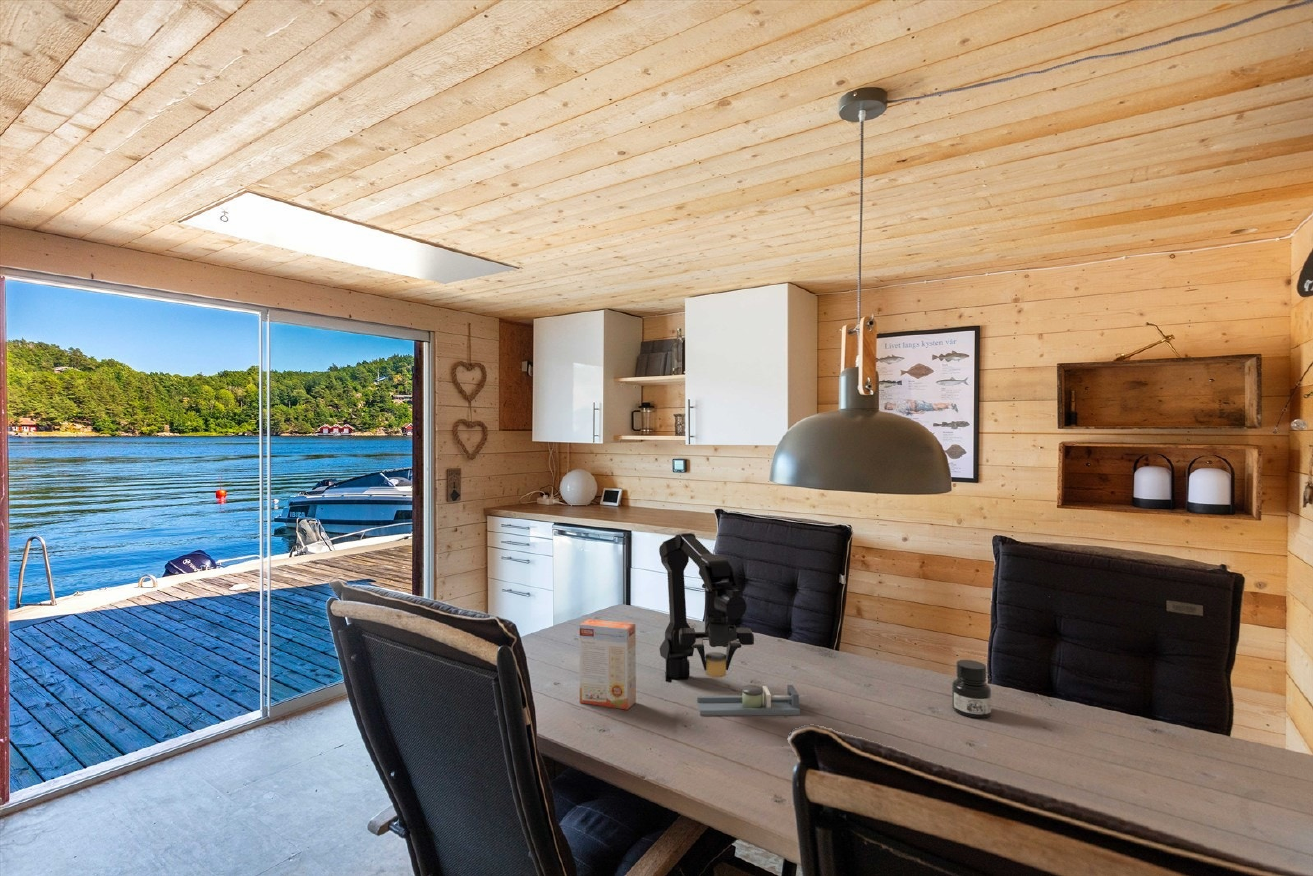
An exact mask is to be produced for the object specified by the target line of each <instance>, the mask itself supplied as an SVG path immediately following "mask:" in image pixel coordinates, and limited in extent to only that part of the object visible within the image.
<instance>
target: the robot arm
mask: <svg viewBox="0 0 1313 876" xmlns="http://www.w3.org/2000/svg"><path fill="white" fill-rule="evenodd" d="M658 551H659V552H658V553H659V556H660V560H661V561H660V562H661V564H662V565H663V567H664V569H665V570H666V572H667V573H666V574H667V592H668V607H669V610H668V611H669V623H668V625H667V627H666V629H665V632H664V640H663V641H662V643H661V645H660V647H659V655H660V657H662V658H663V659H664V660H665V671H664V675H665V676H664V677H665V681H666V682H672V681H673V680H674V681H675V680H676V681H681V680H682V681H686V680H689V677H690V673H691V672H690V668H691V667H690V660H689V659H688V657H693V656H694V651H695V649H696V650H697V652H698V654H699V656H700V657H699V658H700V660H701V662H702V666H703V669H704V671H706V658H705V655H706V654H705V653H706V652H705V644H704V641H708V644H709V646H710V647H711V648H716V647H723V648H726V650H725V651H726V653H725V655H726V656H727V659H726V671H728V670H729V668H730V665H731V662H732V659H733V657H734V654H735V652H736V651H737V650H738V649H740V648H742V646H753V645H755V635H754V633H753V631H752V630H751V628H750V627H737V625H733V624H732V625H729V622H728V618H730V619H732V620H740V619H741V618H742V617H743V616H744V615H745V613H746V611H747V607H748V606H747V603H746V600H745V599H744V597H742V596H741V595H740V590H739V589H738V588H739V585H738V579H737V577H736V574H735V573H734V572H735V571H734V570H733V567H732V565H731V563H730V562H729V560H728V559H726V558H725V557H723V556H720V555H719V554H718V555H717V554H713V553H712V552H711V551H710V550H709V549H708V548H706V546H704V545H703V544H702V542H701V541H699V539H697V538H696V535H695V534H694V533H693V532H687V533H685V532H684V533H678V534H676V535H675V536H674V537H672V538H669V539H666V540H665V541H663V542H662V544H660V546H659V549H658ZM690 560H692V562H693V563H694V564H695V565H696V566H697V567H698V575H699V577H701V580H702V581H703V584H701V588H703V589H704V631H696V630H695V627H691V626H690V625H689V624H688V623H689V622H688V621H687V620H688V619H687V607H686V604H687V603H686V586H685V569H686V567H687V566H688V563H689V561H690Z"/></svg>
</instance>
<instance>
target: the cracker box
mask: <svg viewBox="0 0 1313 876" xmlns="http://www.w3.org/2000/svg"><path fill="white" fill-rule="evenodd" d="M636 640H637V639H636V623H632V622H623V621H614V620H613V621H611V620H603V619H602V620H601V619H593V618H589V619H586V620H585V621H583V622H581V623H580V624H579V661H578V662H579V676H578V677H579V703H582V704H586V705H593V706H594V705H595V706H600V707H607V708H613V709H619V710H620V709H621V710H626V711H627V710H629V709H630V708H631V707H632V706H633V705H634V704H635V703H636V701H637V700H636V699H637V696H636V692H637V690H636V688H637V685H636V681H637V679H636V677H637V674H636V672H637V671H636V670H637V668H636V667H637V665H636V664H637V663H636V660H637V659H636V657H637V656H636V650H637V647H636V643H637V642H636Z"/></svg>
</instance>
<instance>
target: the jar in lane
mask: <svg viewBox="0 0 1313 876" xmlns="http://www.w3.org/2000/svg"><path fill="white" fill-rule="evenodd" d="M741 692H742V695H741V696H742V707H743V708H763V688H762V687H761V686H760V685H753V684H751V685H750V684H748V685H743V686H742V688H741Z"/></svg>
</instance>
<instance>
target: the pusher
mask: <svg viewBox="0 0 1313 876" xmlns="http://www.w3.org/2000/svg"><path fill="white" fill-rule="evenodd" d="M761 688H763V703H764V706H765V708H771V700H792V695H787V694H786V695H787V696H771V695H772V694H771V693H770V690H769V689H768V686H767V685H762V687H761ZM812 699H813V696H812V695H810V694H809V695H807V694H805V695H803V694H799V701H800V700H803V701H805V700H809V701H810V700H812Z"/></svg>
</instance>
